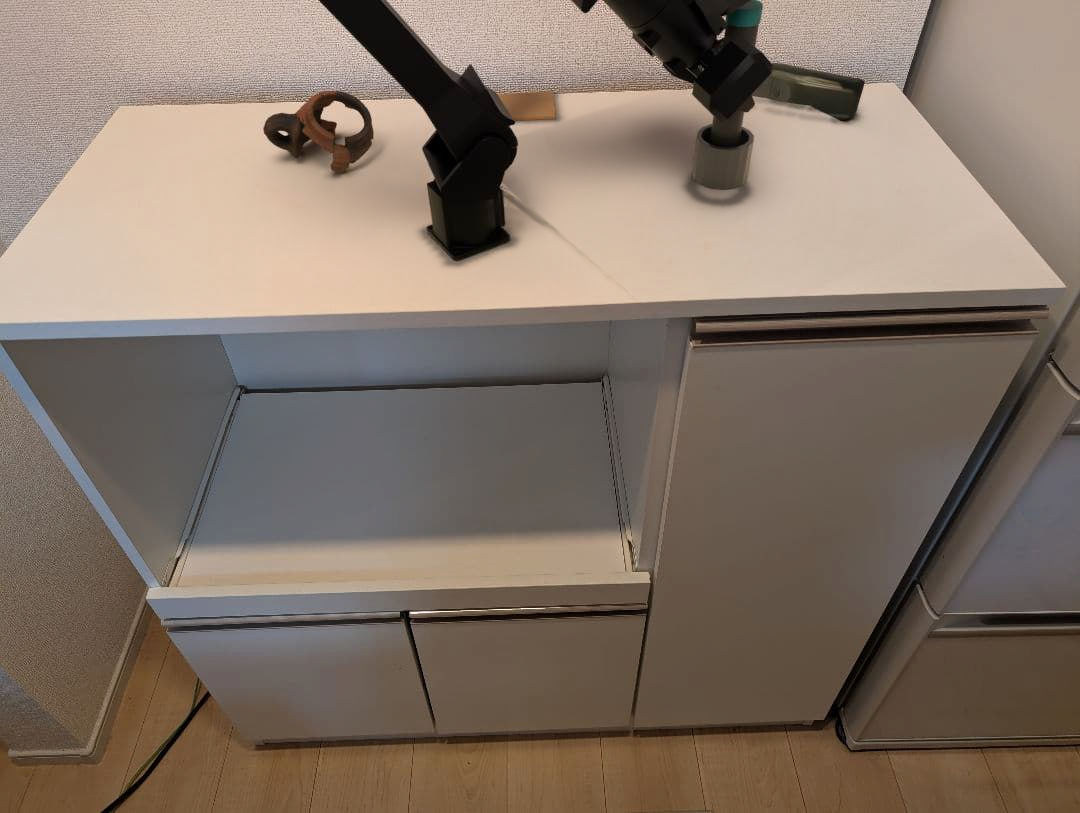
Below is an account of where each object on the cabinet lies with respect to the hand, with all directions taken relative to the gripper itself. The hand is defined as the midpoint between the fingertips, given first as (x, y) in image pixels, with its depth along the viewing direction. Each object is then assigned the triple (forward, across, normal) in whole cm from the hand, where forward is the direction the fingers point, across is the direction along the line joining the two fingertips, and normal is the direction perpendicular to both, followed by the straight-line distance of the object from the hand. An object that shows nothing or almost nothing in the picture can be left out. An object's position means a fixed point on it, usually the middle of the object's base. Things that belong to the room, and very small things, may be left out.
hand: (743, 101), depth 80 cm
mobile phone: (+18, +14, -4) cm, 23 cm away
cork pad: (-5, +26, +18) cm, 32 cm away
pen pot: (+6, 0, +8) cm, 10 cm away
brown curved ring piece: (-22, +22, +36) cm, 48 cm away
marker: (+3, 0, +5) cm, 6 cm away
